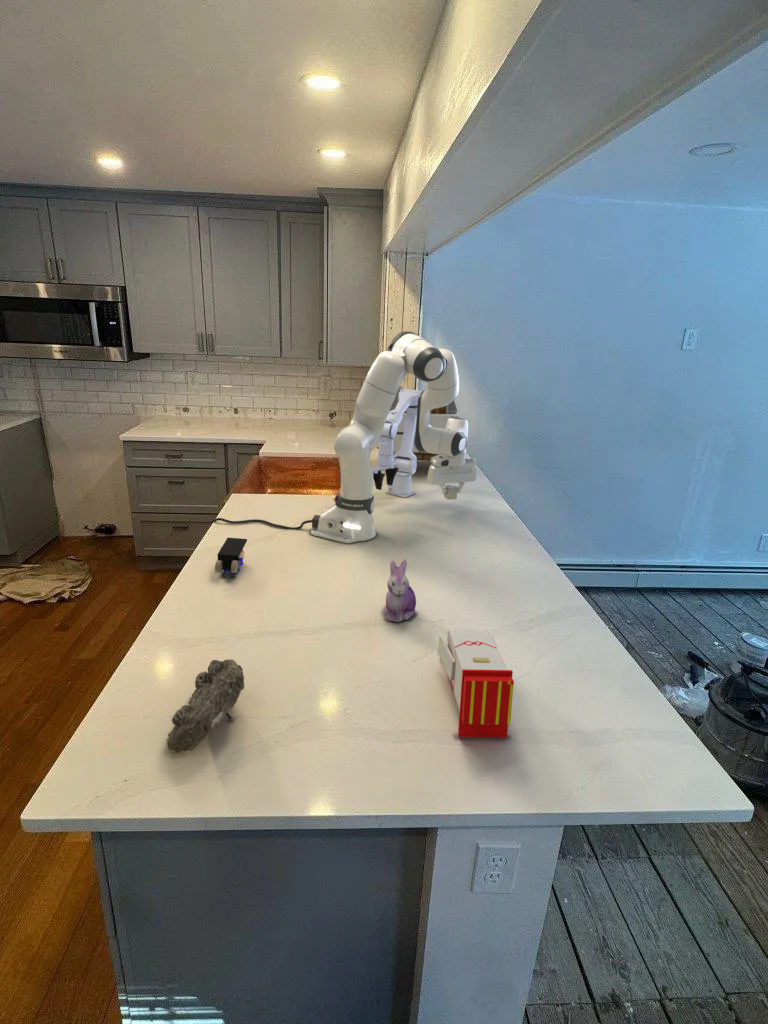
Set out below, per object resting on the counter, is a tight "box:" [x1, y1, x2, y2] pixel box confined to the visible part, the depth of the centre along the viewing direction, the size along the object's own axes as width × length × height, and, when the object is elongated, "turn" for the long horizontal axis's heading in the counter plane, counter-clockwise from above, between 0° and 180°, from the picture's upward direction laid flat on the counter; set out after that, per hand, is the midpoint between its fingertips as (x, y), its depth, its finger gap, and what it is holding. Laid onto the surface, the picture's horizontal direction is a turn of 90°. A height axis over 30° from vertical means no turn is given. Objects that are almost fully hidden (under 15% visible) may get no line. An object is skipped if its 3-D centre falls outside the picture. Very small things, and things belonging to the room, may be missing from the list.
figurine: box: [384, 558, 417, 623], centre depth 145 cm, size 9×10×15 cm
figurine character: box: [214, 537, 248, 578], centre depth 166 cm, size 7×8×15 cm
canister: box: [443, 484, 458, 500], centre depth 223 cm, size 5×5×4 cm
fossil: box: [166, 658, 245, 754], centre depth 106 cm, size 22×10×15 cm
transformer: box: [387, 385, 460, 461], centre depth 277 cm, size 34×33×41 cm
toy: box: [437, 628, 515, 738], centre depth 117 cm, size 12×13×30 cm
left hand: (450, 493), depth 223 cm, fingers closed on canister, 5 cm apart
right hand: (384, 487), depth 224 cm, fingers open, 7 cm apart
